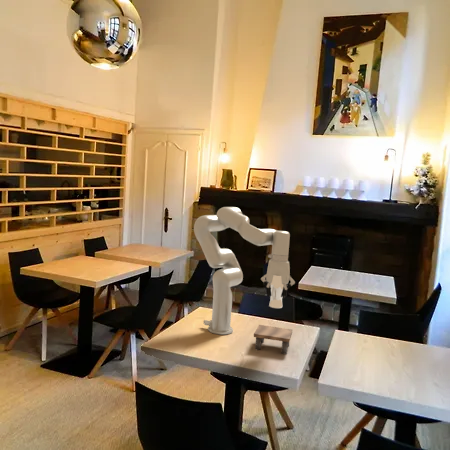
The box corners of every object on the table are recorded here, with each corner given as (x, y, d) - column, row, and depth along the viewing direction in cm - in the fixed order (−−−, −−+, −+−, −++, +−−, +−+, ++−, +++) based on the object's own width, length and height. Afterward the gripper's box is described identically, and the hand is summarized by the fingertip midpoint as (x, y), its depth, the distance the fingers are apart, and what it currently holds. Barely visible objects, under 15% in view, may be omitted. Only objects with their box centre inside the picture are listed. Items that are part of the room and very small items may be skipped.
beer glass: (276, 309, 196) (278, 276, 195) (264, 305, 202) (267, 273, 200) (286, 307, 201) (289, 275, 200) (275, 303, 206) (277, 272, 205)
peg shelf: (252, 349, 198) (253, 333, 198) (257, 339, 212) (259, 324, 211) (288, 355, 194) (289, 339, 194) (291, 344, 208) (292, 329, 207)
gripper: (259, 257, 198) (256, 296, 199) (298, 261, 194) (294, 301, 195) (262, 255, 205) (259, 292, 207) (299, 258, 201) (296, 297, 203)
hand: (276, 296), depth 201 cm, fingers closed on beer glass, 6 cm apart
